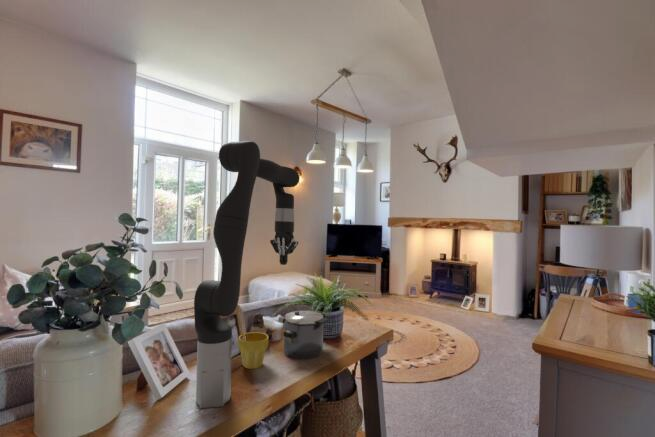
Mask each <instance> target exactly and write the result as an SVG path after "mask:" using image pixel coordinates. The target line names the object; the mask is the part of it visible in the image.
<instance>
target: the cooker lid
mask: <svg viewBox="0 0 655 437" xmlns="http://www.w3.org/2000/svg"><path fill="white" fill-rule="evenodd" d="M284 317H285V320H286V321H287V322H289V323H291V324H297V325H312V324H318V325H322V324H323V325H325V324H327V323H329V318H325V317H324V315H323V314H322V313H321V312H317V311H313V310H296V311H295V310H294V311H290V312H288V313H286V314H285V315H284Z"/></svg>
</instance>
